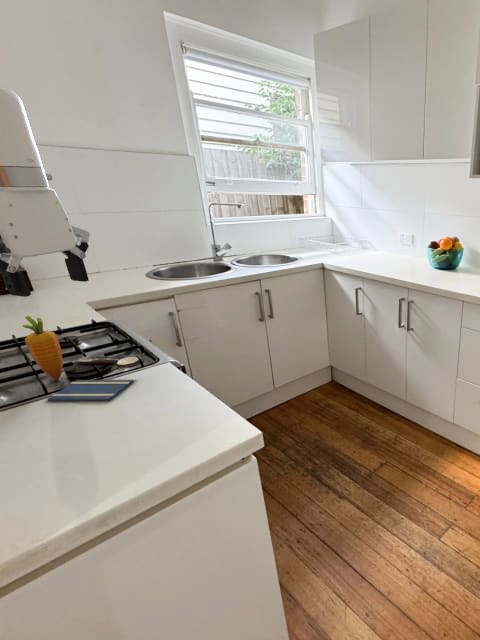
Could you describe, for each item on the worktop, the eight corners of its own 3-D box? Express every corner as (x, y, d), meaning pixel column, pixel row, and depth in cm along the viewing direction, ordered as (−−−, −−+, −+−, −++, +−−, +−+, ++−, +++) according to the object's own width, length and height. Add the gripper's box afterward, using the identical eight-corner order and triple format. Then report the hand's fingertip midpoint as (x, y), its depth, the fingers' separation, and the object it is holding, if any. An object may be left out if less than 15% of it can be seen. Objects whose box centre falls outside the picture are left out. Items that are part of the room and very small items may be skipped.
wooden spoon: (72, 367, 90) (70, 363, 90) (85, 359, 94) (84, 355, 94) (132, 367, 91) (131, 363, 91) (143, 359, 95) (142, 355, 95)
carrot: (73, 379, 85) (49, 317, 79) (43, 387, 82) (16, 322, 76) (70, 372, 88) (47, 311, 82) (41, 379, 85) (15, 316, 79)
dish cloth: (47, 401, 77) (46, 398, 77) (77, 381, 84) (76, 379, 84) (109, 401, 78) (108, 398, 78) (133, 381, 85) (133, 379, 85)
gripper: (52, 178, 67) (82, 274, 74) (-81, 178, 51) (-27, 300, 58) (89, 180, 66) (116, 277, 73) (-36, 181, 50) (13, 304, 57)
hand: (52, 287), depth 65 cm, fingers open, 9 cm apart
